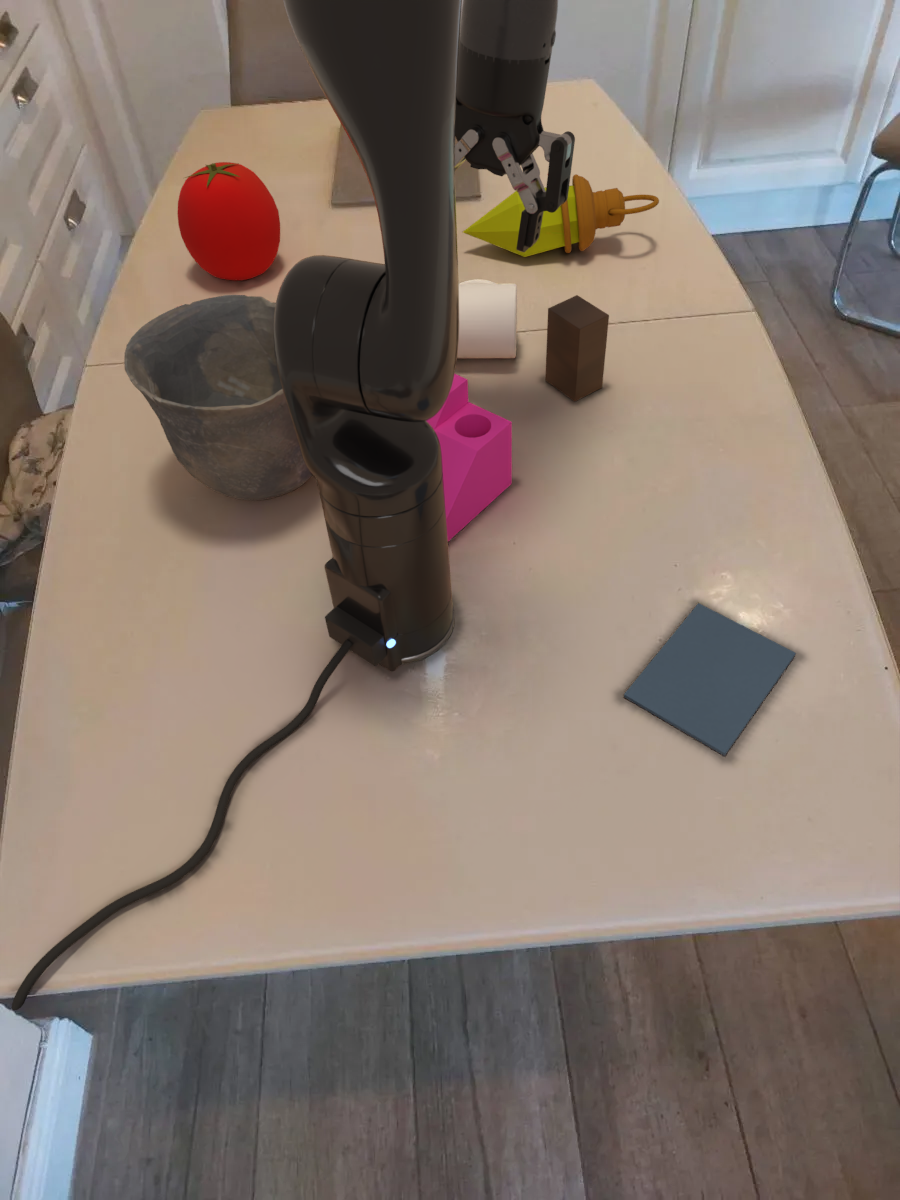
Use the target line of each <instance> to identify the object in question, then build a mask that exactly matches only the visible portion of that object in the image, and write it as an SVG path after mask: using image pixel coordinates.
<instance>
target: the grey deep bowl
mask: <svg viewBox="0 0 900 1200" xmlns="http://www.w3.org/2000/svg"><path fill="white" fill-rule="evenodd" d="M275 305H276V301H275V302H273V301H270V300H268V299H266V298H265V297H263V296H252V295H251V296H250V295H245V294H224V295H219V296H214V297H208V298H204V299H200V300H196V301H192V302H191V303H189V304H188V303H184V304H181V305H179V306H176V307H174V308H172V309H169V310H167V311H165V312H163V313H161V314H159V315H158V316H155V318H153V319H151V320H149V321H148V322H147V323H145V324H144V325H142V326H141V327H140V328H139V329H138V330H137V331H136V332H135V333H134V334H133V335H132V336H131V337H130V339H129V341H128V343H127V344H126V347H125V351H124V358H123V359H124V360H123V362H124V363H123V364H124V371H125V373H126V376H127V377H128V379H129V381H130V383H132V385H133V386H134V387H135V388H136V389H137V390H138V391H139V392H140V393H141V395H142V396H143V397H144V399H145V400H146V402H147V403H148V404H149V406H150V408H151V409H152V411H153V413H154V414H155V415H156V417H157V418H158V420H159V423H160V426H161V427H162V429H163V432H164V435H165V437H166V440H167V442H168V443H169V445H170V448H171V451H172V452H173V455H174V456H175V458H176V459H177V461H178V462H179V463H180V465H182V466H183V467H184V469H185V470H186V471H187V472H188V473H189V474H190V475H191V476H192V478H194V479H195V480H197V481H198V482H200V483H201V484H202V485H204V486H205V487H207V488H208V489H211V490H212V491H214V492H216V493H218V494H221V495H224V496H226V497H230V498H233V499H239V500H243V501H244V500H245V501H264V500H270V499H275V498H276V497H281V496H283V495H286V494H289V493H291V492H293V491H295V490H297V489H298V488H300V487H301V486H302V485H304V484H305V483H306V482H308V480H309V479H311V477H312V476H313V475H312V473H311V472H310V471H309V469H308V468H307V466H306V464H305V462H304V460H303V458H302V454H301V450H300V447H299V443H298V440H297V437H296V433H295V430H294V426H293V423H292V420H291V416H290V413H289V410H288V407H287V403H286V400H285V397H284V393H283V390H282V386H281V382H280V378H279V374H278V369H277V364H276V358H275V352H274V338H273V320H274V311H275Z"/></svg>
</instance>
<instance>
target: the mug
mask: <svg viewBox="0 0 900 1200" xmlns="http://www.w3.org/2000/svg"><path fill="white" fill-rule="evenodd" d="M517 329H518V285H517V283H514V282H513V283H497V282H495V281H492V280H489V279H482V278H479V279H478V278H475V279H468V280H464V281H461V282H459V343H458V354H457V359H515V358H516V356H517V333H518V332H517V331H518V330H517Z"/></svg>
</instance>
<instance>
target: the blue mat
mask: <svg viewBox="0 0 900 1200" xmlns="http://www.w3.org/2000/svg"><path fill="white" fill-rule="evenodd" d="M796 655H797V653H796V652H795V651H793V650H792V649H789V648H787V647H785V646H783V645H781V644H779V643H777V642H776V641H773V640H772V639H769V638H768V637H766V636H764V635H762V634H760V633H758V632H756V631H754V630H753V629H750V628H749V627H747V626H744V625H742V624H741V623H739V622H736V621H734V620H733V619H730V618H729V617H727V616H726V615H723V614H721V613H719V612H717V611H715V610H713V609H712V608H709V607H707V606H705V605H703V604H702V603H699V602H698V603H697V604H696V605H695V607H694V608H693V609H692V610H691V611H690V613H689V614H688V615H687V616H686V617H685V618H684V620H683V621H682V622H681V624H680V625H679V626H678V627H677V628H676V629H675V631H674V632H673V633H672V635H671V636H670V637H669V639H668V640H667V641H666V642H665V643H664V644H663V645H662V647H661V648H660V649H659V651H657V653H656V655H655V656H654V657H653V658H652V659H651V661H650V662H648V664H647V665H646V667H645V668H644V669H643V670H642V672H640V674H639V675H638V676H637V677H636V679H635V680H634V682H633V683H632V684H631V685H630V686H629V688H628V689H627V690H626V691H625V693H624V694H623V698H625V699H626V700H628V701H630V702H631V703H632V704H633V703H634V704H635V705H637V706H639V707H640V708H642V709H643V710H645V711H646V712H649V713H650V714H652V715H654V716H656V717H657V718H659V719H661V720H662V721H664V722H666V723H667V724H669V725H671V726H672V727H674V728H676V729H678V730H679V731H681V732H682V733H685V734H686V735H688V736H689V737H691V738H693V739H694V740H696V741H698V742H699V743H701V744H703V745H705V746H706V747H708V748H710V749H712V750H713V751H715V752H717V753H719V754H720V755H722V756H723V757H725V756H726V755H727V753H728V752H729V751H730V749H731V748H732V746H733V745H734V744H735V742H736V741H737V739H738V738H739V737H740V736H741V733H742V732H743V731H744V729H745V728H746V726H747V725H748V723H749V722H750V721H751V719H752V718H753V716H754V715H755V714H756V712H757V710H759V708H760V707H761V705H762V704H763V702H764V701H765V699H766V698H767V697H768V695H769V693H770V692H771V691H772V689H773V688H774V687H775V685H776V684H777V682H778V681H779V679H780V678H781V676H782V675H783V674H784V672H785V671H786V670H787V668H788V667H789V665H790V664H791V662H792V661H793V660H794V658H795V656H796Z"/></svg>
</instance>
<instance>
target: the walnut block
mask: <svg viewBox="0 0 900 1200" xmlns="http://www.w3.org/2000/svg"><path fill="white" fill-rule="evenodd" d="M609 321H610V315H609V314H608V313H607V312H605V311H603V310H602V309H600V308H598V306H595V305H594V304H592V303H591V302H589V301H587V300H585V299H584V298H583V297H582V296H579V295H578V294H576V295H574V296H572V297H570V298H568V299H565V300H563V301H561V302H559V303H557V304H554V305H552V306H550V307H548V308H547V325H546V327H547V328H546V349H545V350H546V353H545V354H546V355H545V378H544V380H545V382H546V383H549V384H550V385H551V386H552V387H554V388H555V389H557V390H558V391H559V392H560V393H562V394H563V395H565V396H566V397H568V398H569V399H570V400H572V401H573V402H577V401H579V400H581V399H582V398H583V399H584V398H585V397H587V396H589V395H591V394H593V393H594V392H596V391H598V390H601V389H603V384H604V382H603V381H604V374H605V361H606V352H607V341H608V332H609Z"/></svg>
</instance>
